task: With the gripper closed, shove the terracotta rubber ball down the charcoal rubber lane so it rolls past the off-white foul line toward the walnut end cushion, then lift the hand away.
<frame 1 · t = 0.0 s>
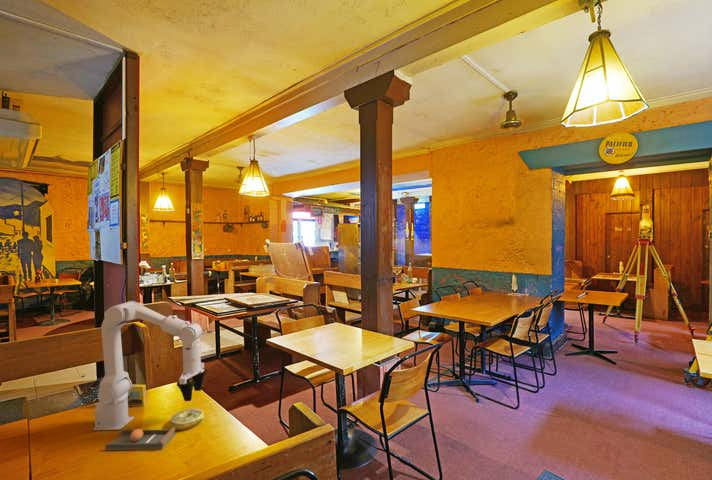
hand: (193, 395, 124), 10 cm above the table, fingers open, 7 cm apart
lane: (141, 442, 114), on the table
ball: (136, 435, 114), point 2 cm above the table, touching lane
candy box: (125, 405, 139), on the table
decorated donut: (187, 424, 125), on the table
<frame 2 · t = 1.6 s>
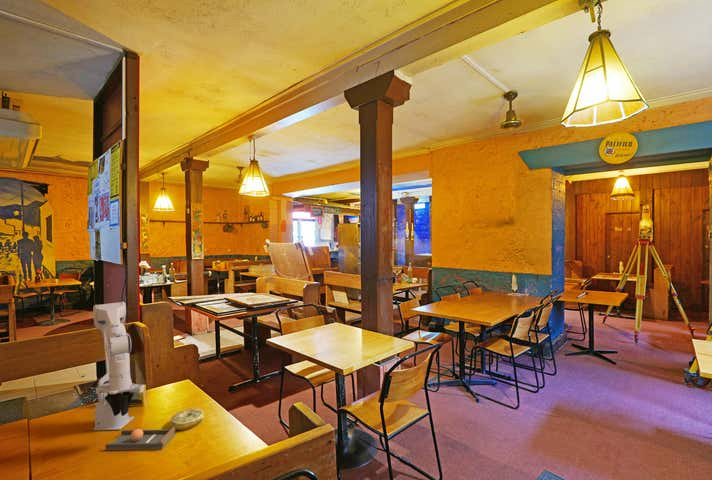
hand: (121, 414, 113), 9 cm above the table, fingers closed
nothing on the table moved.
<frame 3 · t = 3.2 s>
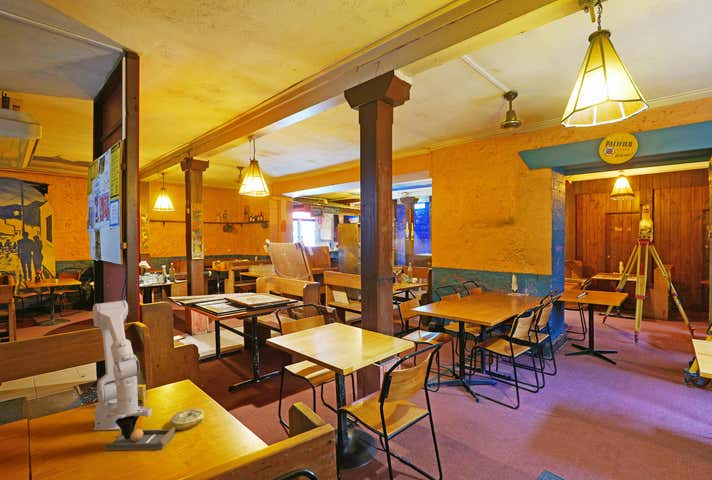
hand: (128, 437, 114), 2 cm above the table, fingers closed, pressing on ball
ball: (136, 435, 114), point 2 cm above the table, touching gripper, lane
everything else where it was.
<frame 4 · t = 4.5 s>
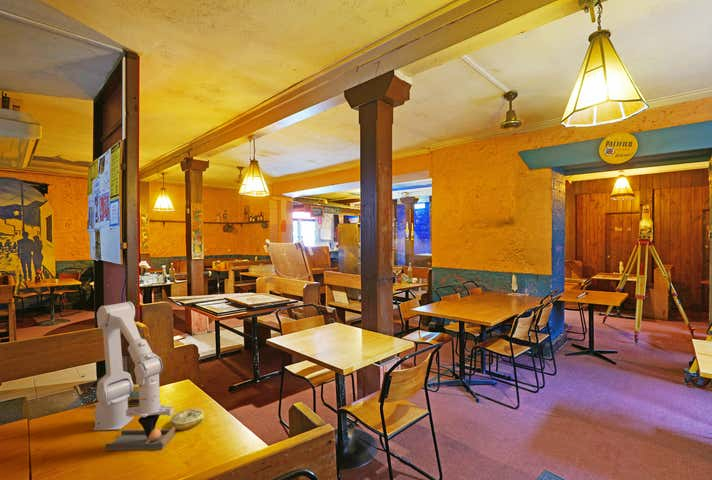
hand: (150, 436, 113), 2 cm above the table, fingers closed, pressing on ball
ball: (154, 435, 114), point 2 cm above the table, tilted 168°, touching gripper, lane
everything else where it was.
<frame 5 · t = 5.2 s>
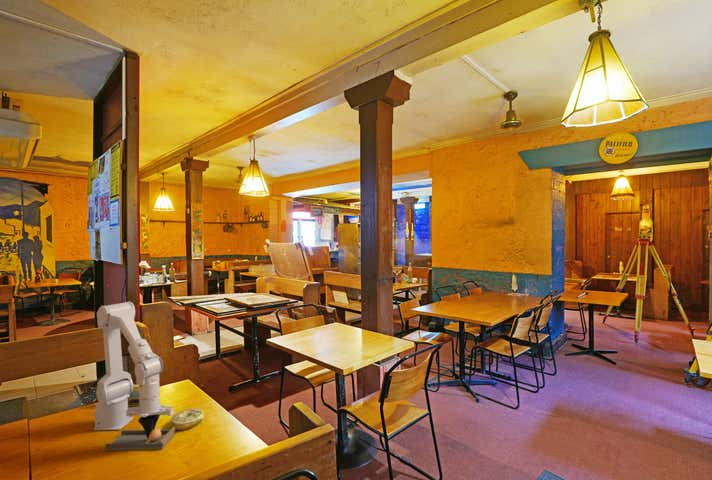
hand: (150, 436, 113), 2 cm above the table, fingers closed, pressing on ball
ball: (154, 435, 114), point 2 cm above the table, tilted 166°, touching gripper, lane
everything else where it was.
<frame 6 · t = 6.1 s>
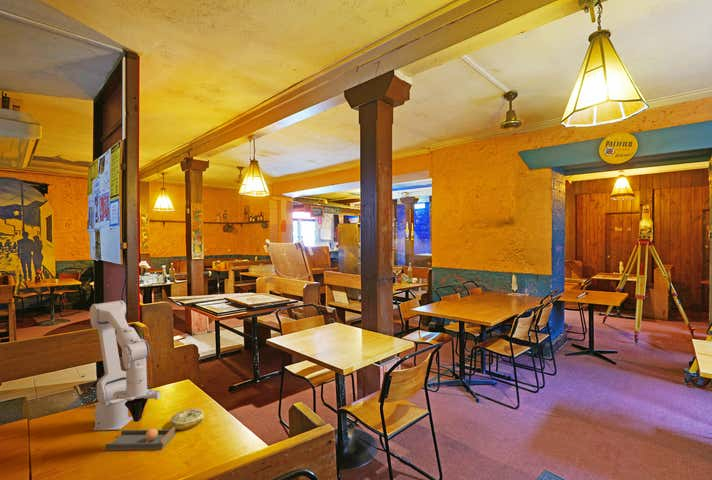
hand: (137, 420, 114), 7 cm above the table, fingers closed
ball: (151, 434, 114), point 2 cm above the table, tilted 154°, touching lane
everything else where it was.
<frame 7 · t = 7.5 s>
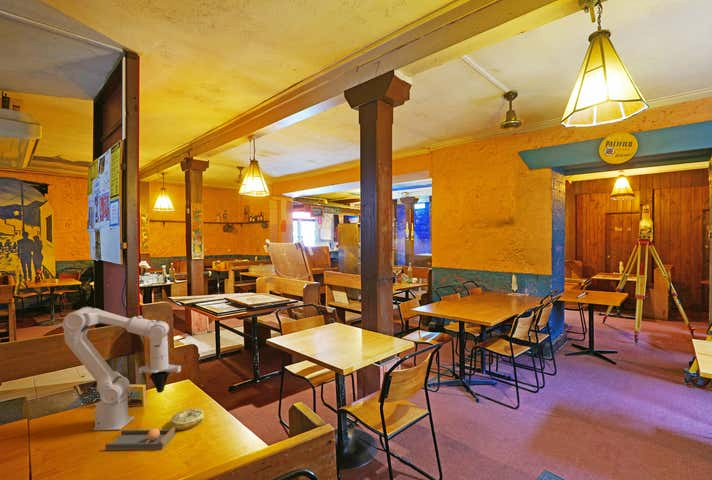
hand: (160, 391, 128), 10 cm above the table, fingers closed
ball: (153, 434, 114), point 2 cm above the table, tilted 171°, touching lane
everything else where it was.
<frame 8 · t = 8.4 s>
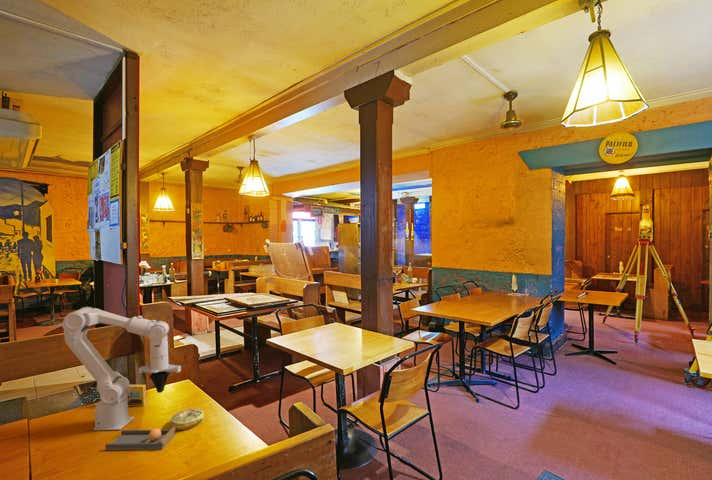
hand: (160, 391, 128), 10 cm above the table, fingers closed
nothing on the table moved.
at the end: ball 1.8 cm from the target spot on the lane, point 2.4 cm above the lane's base; the gripper is holding nothing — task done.
